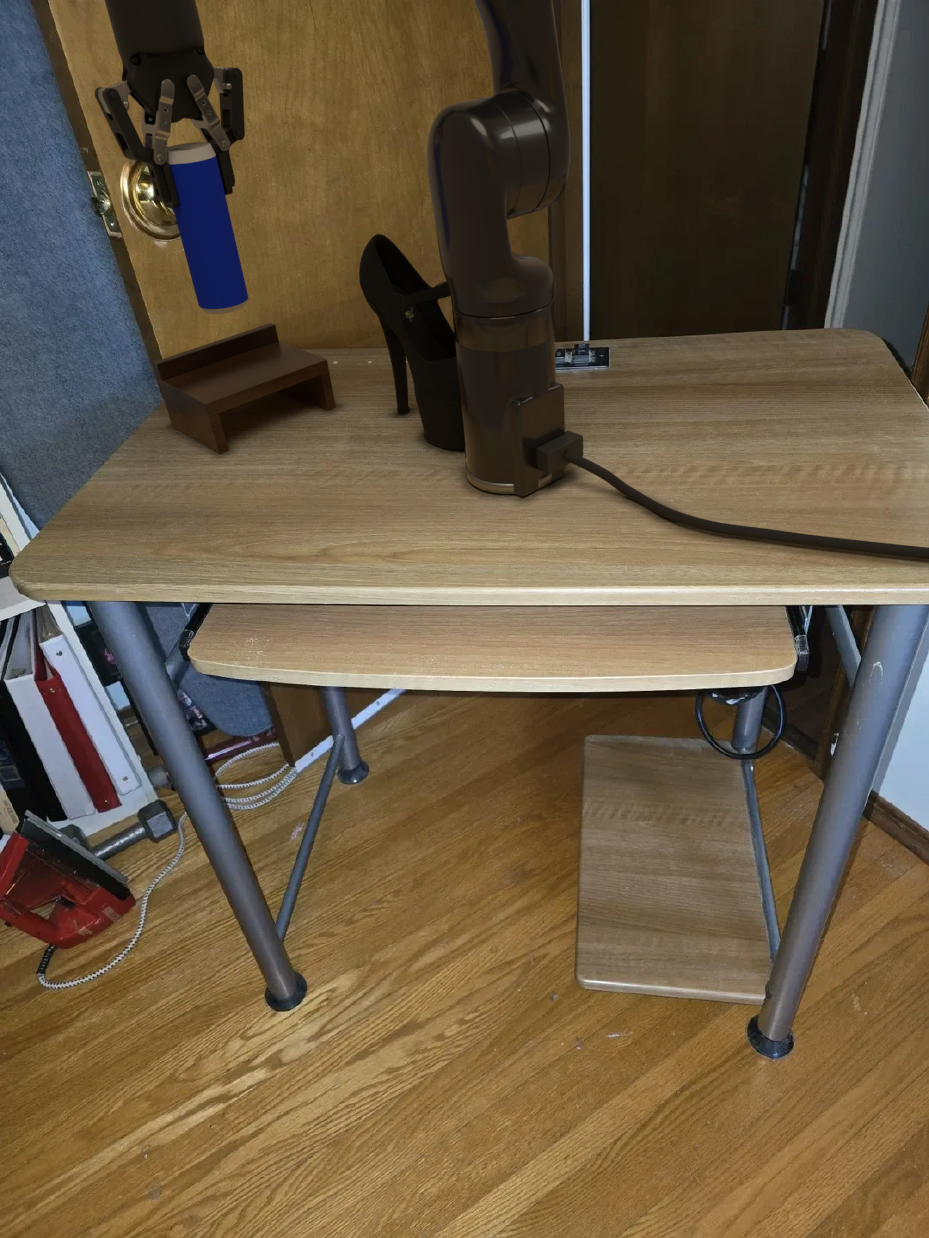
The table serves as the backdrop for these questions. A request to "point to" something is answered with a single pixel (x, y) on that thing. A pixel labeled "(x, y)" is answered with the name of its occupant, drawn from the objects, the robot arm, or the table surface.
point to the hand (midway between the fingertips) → (199, 199)
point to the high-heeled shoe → (415, 339)
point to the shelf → (237, 380)
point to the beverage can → (206, 228)
